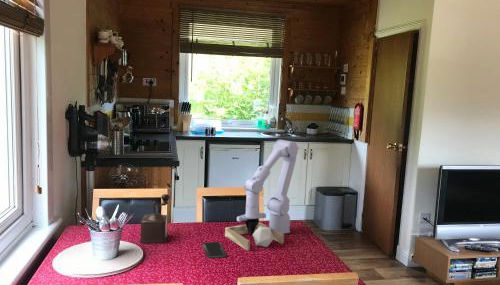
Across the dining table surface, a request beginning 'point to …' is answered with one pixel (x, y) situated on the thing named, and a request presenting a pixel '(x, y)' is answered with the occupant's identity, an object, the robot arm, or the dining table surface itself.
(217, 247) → the phone
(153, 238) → the coffee grinder box
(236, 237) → the wooden frame
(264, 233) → the die
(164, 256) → the dining table surface
